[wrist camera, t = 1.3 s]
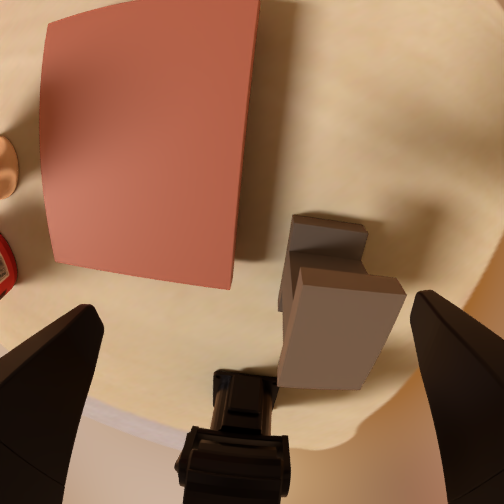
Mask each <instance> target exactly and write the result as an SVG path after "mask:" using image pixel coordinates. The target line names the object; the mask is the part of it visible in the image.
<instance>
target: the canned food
mask: <svg viewBox="0 0 504 504" xmlns="http://www.w3.org/2000/svg"><path fill="white" fill-rule="evenodd" d="M16 279H17V266H16V262H15V258H14V256H13V253H12V251H11V249H10V247H9V245H8V243H7V242H6V240H5V239H4V237H3V236H2V235H1V234H0V300H1V299H2V298H3V297H4V296H5V295H6V294H7V293H8V292H9V291H10V290H11V289H12V287H13V286H14V284H15V282H16Z"/></svg>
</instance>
